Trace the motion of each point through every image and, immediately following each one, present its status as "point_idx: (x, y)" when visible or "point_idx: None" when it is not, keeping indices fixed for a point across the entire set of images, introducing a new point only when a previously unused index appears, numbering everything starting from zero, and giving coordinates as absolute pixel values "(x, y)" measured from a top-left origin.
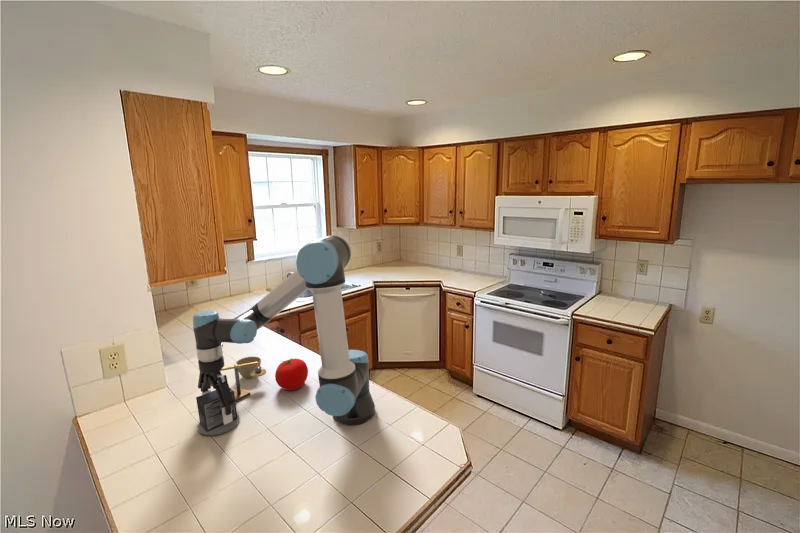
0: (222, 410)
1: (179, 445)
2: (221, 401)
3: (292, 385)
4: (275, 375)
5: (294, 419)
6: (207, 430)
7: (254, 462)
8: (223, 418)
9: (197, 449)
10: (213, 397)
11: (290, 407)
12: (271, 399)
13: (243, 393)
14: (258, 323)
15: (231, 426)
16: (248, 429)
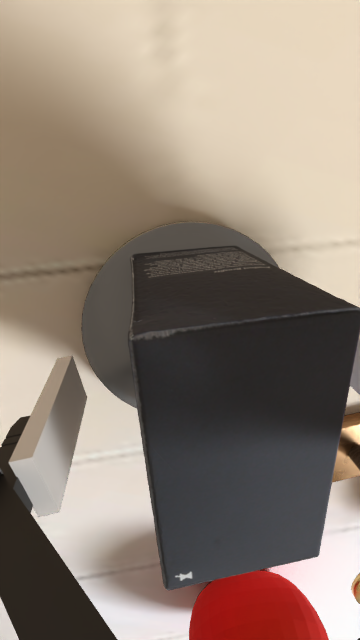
0: (36, 426)
1: (142, 84)
2: (12, 509)
3: (192, 625)
4: (288, 632)
5: None
6: (130, 262)
7: None
8: (56, 380)
9: (25, 167)
10: (182, 458)
11: (108, 553)
12: None
13: (337, 464)
14: None
15: (97, 369)
16: None
